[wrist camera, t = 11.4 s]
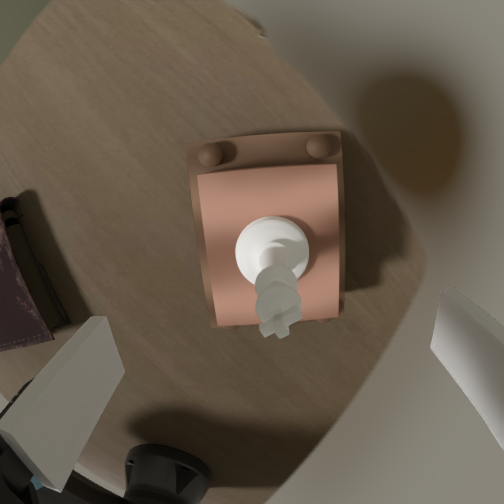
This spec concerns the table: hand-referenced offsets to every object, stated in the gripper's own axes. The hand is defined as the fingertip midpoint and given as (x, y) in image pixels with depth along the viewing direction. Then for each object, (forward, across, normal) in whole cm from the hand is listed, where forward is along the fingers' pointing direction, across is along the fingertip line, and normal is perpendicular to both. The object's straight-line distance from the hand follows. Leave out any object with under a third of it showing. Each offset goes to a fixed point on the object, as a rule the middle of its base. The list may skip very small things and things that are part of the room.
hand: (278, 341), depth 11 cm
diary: (+20, +40, +5) cm, 45 cm away
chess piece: (+11, 0, 0) cm, 11 cm away
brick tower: (+19, 0, 0) cm, 19 cm away
